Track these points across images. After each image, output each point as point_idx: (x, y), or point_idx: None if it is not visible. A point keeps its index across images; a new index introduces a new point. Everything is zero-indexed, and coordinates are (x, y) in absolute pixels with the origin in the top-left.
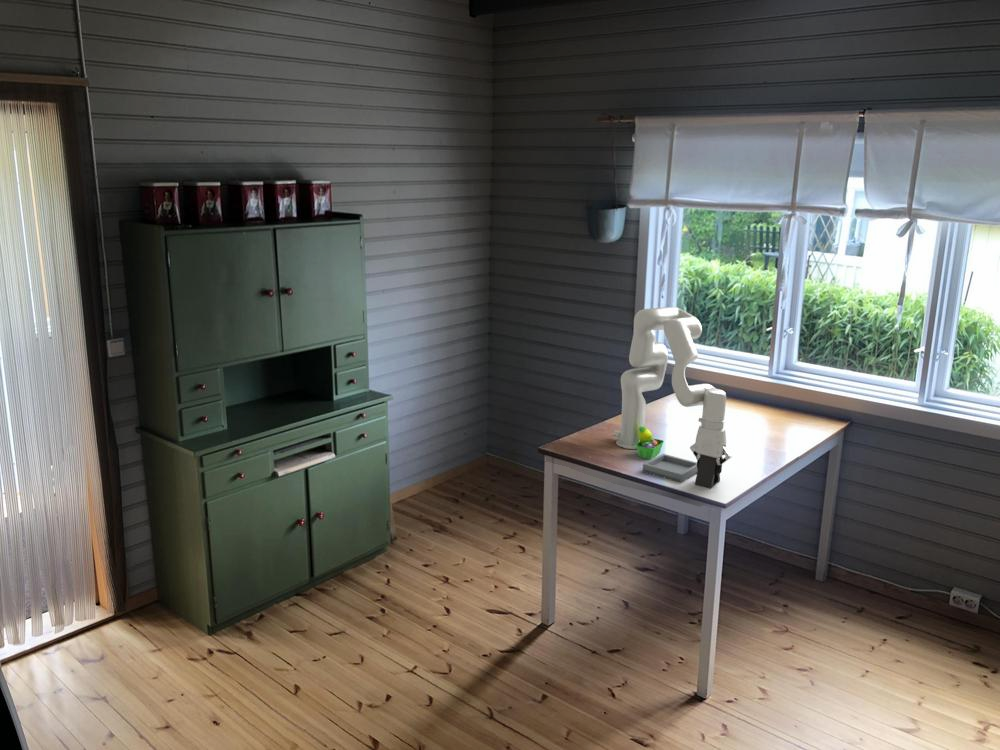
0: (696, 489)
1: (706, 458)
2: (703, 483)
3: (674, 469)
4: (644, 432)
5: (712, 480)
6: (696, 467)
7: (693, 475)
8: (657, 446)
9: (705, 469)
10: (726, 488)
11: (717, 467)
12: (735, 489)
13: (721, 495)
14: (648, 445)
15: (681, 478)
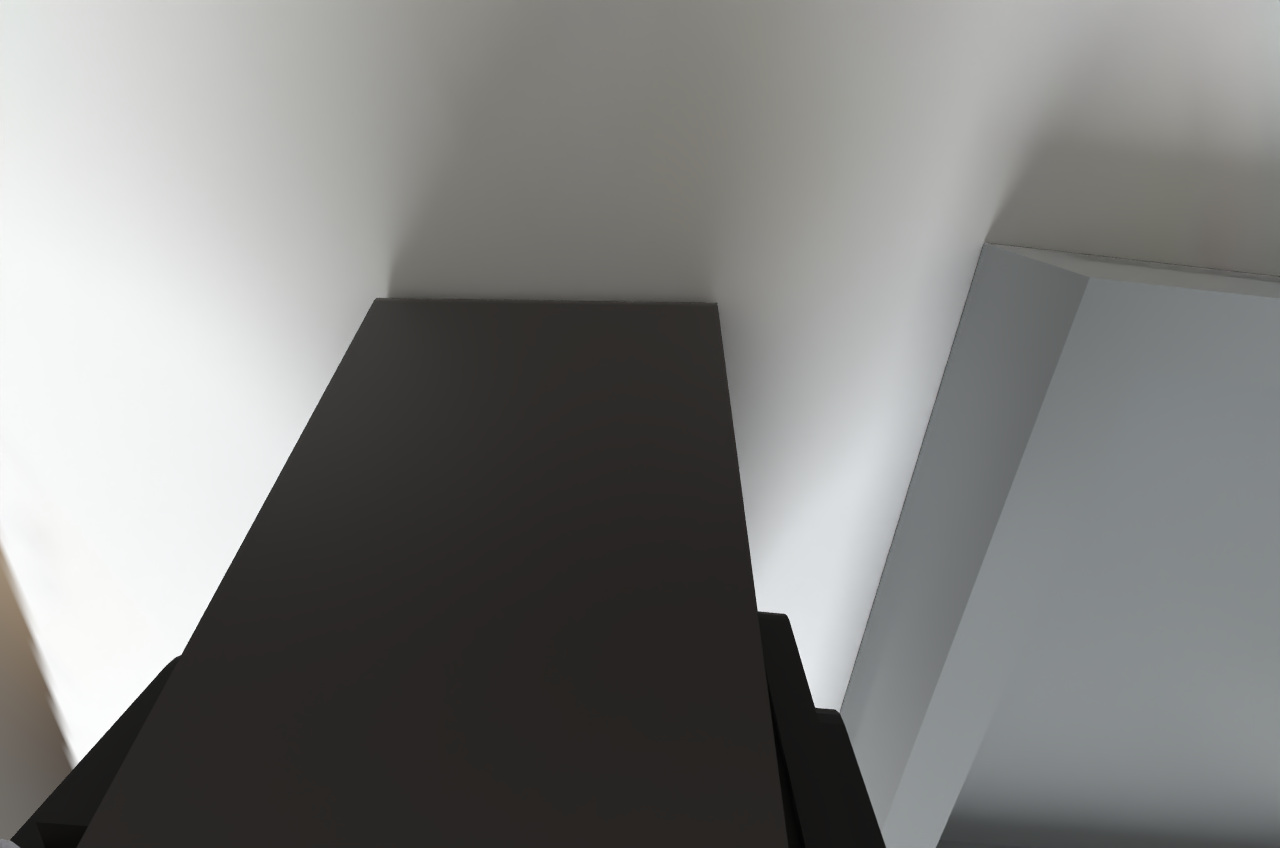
0: (594, 60)
1: None
2: (538, 327)
3: (1219, 661)
4: None
5: (326, 397)
6: None
7: (859, 654)
8: None
9: (508, 586)
10: (192, 463)
11: (121, 759)
12: (65, 505)
13: (25, 56)
14: None
15: (1039, 257)
